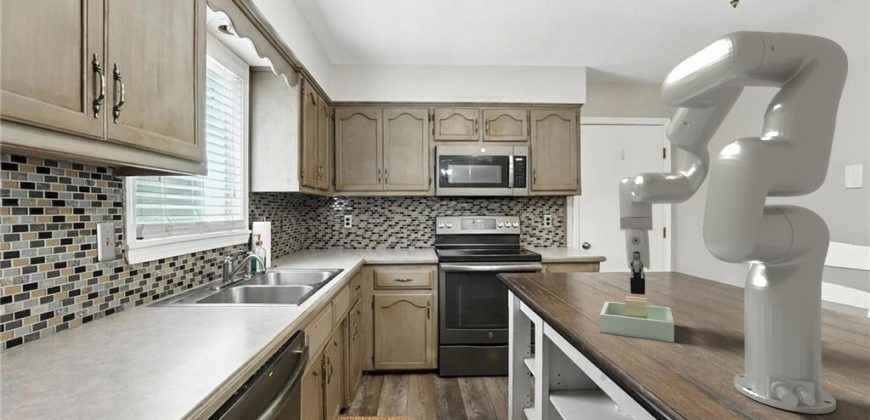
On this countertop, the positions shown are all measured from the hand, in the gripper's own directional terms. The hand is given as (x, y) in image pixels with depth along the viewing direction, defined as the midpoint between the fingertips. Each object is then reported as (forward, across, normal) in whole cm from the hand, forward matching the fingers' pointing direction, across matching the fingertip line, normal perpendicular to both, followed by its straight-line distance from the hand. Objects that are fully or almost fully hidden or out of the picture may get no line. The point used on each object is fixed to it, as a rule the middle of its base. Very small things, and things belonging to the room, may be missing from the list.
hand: (638, 291), depth 101 cm
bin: (+10, +1, +1) cm, 10 cm away
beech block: (+9, +1, +1) cm, 9 cm away
